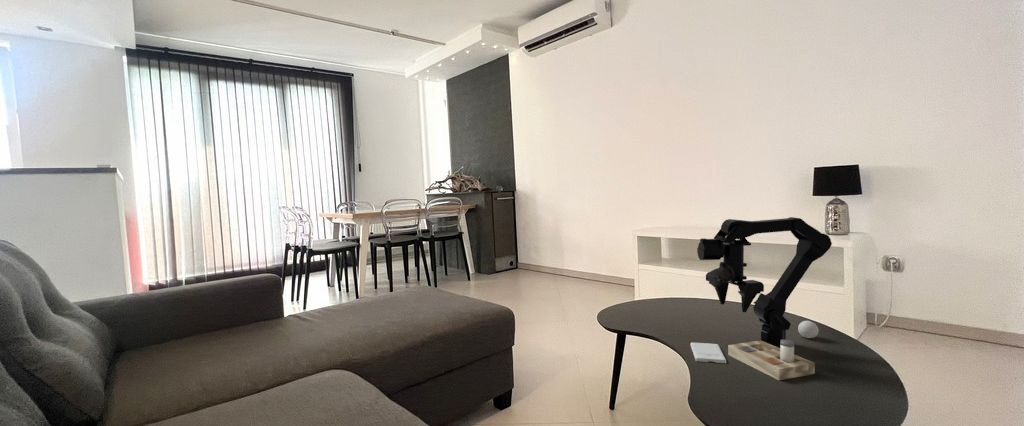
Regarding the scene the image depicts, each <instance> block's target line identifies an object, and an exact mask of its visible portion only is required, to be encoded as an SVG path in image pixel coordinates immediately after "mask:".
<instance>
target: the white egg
mask: <svg viewBox="0 0 1024 426" xmlns="http://www.w3.org/2000/svg"><path fill="white" fill-rule="evenodd" d="M797 331H798V332H799V334H800V336H802V337H804V338H805V339H813V338H816V337H817V336H818V334H819V332H820V330H819V327H818V326H817V324H816V323H814V322H812V320H811V321H810V320H802V321H801V322H800V323H799V324H798V327H797Z"/></svg>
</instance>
